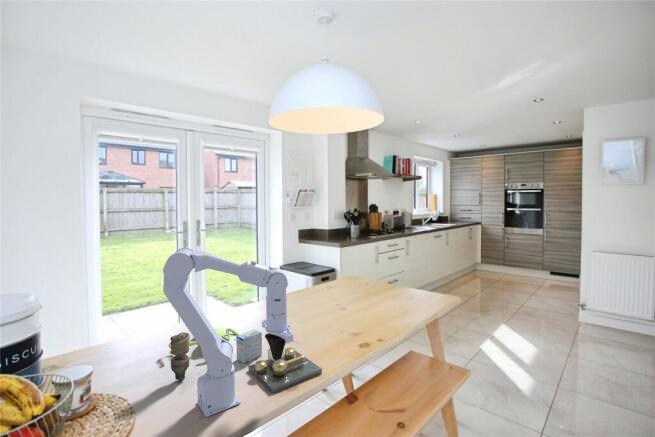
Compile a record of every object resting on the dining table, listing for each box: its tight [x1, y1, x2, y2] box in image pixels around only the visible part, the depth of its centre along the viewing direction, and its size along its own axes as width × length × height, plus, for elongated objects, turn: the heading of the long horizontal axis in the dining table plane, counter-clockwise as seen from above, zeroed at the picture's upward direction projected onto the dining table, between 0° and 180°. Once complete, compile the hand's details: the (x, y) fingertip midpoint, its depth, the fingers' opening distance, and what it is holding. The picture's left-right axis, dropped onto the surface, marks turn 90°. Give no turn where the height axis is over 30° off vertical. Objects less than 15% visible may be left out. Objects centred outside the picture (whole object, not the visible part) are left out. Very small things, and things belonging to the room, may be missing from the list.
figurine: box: [167, 327, 240, 355], centre depth 124 cm, size 18×27×6 cm
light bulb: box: [169, 331, 191, 382], centre depth 100 cm, size 6×6×15 cm
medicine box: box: [235, 329, 263, 364], centre depth 115 cm, size 8×4×9 cm, turn 141°
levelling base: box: [248, 347, 323, 394], centre depth 105 cm, size 18×16×7 cm
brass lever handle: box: [273, 354, 306, 376], centre depth 104 cm, size 11×4×3 cm, turn 129°
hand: (277, 358), depth 93 cm, fingers closed
